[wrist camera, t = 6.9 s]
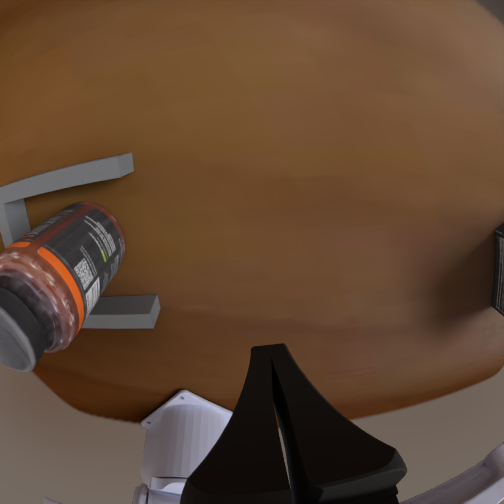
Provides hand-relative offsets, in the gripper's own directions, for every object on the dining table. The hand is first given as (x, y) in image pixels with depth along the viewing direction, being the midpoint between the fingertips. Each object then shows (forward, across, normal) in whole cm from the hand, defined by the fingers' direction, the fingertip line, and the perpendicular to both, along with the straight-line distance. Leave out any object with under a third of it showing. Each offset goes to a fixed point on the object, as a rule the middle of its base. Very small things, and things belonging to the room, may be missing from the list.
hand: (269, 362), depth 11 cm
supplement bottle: (+10, +11, -3) cm, 15 cm away
